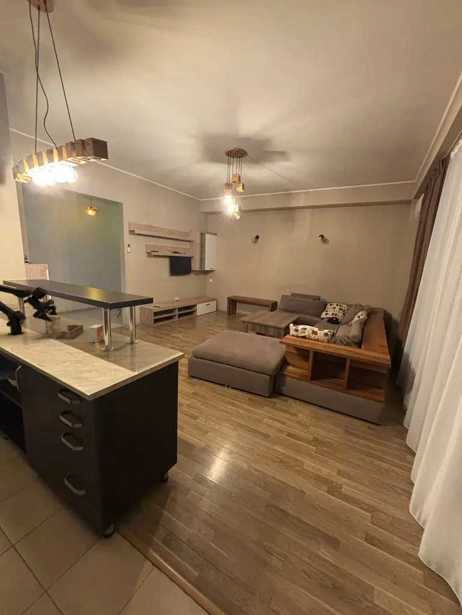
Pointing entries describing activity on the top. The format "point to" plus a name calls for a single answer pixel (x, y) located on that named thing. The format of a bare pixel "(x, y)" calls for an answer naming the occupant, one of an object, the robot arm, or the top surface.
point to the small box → (95, 333)
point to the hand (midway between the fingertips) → (55, 319)
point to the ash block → (54, 324)
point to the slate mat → (49, 335)
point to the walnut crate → (70, 332)
